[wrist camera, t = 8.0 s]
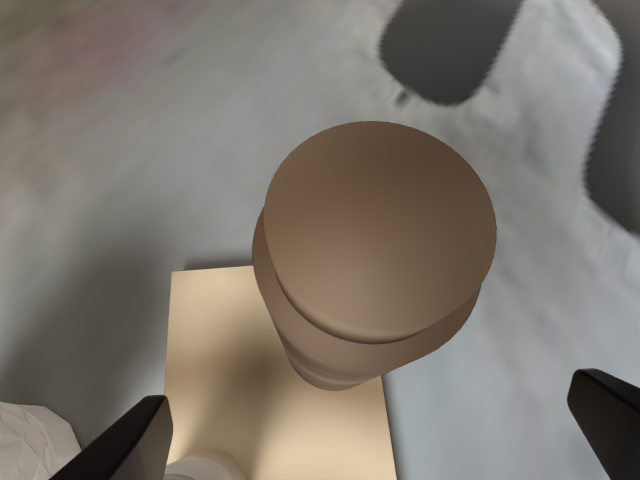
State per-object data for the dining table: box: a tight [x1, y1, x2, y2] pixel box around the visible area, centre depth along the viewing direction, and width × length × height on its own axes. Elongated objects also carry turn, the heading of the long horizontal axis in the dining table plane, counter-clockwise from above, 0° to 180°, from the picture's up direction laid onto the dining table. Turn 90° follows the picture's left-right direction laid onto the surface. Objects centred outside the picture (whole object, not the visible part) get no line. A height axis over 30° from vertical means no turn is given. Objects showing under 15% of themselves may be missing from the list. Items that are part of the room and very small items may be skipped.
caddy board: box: [164, 266, 397, 480], centre depth 18 cm, size 12×10×1 cm
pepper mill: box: [252, 121, 497, 391], centre depth 12 cm, size 5×5×13 cm
